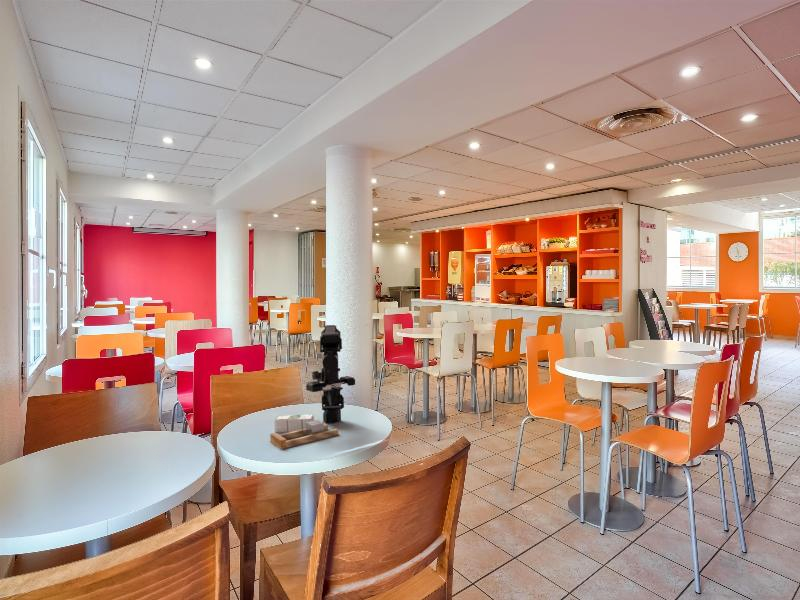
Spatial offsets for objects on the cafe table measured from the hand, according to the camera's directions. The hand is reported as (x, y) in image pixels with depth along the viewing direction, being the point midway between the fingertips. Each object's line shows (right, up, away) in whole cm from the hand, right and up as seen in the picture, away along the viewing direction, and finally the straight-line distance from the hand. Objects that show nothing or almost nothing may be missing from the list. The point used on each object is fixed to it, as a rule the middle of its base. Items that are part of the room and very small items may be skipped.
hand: (331, 405), depth 175 cm
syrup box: (-23, -8, +4) cm, 24 cm away
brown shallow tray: (-9, -11, -7) cm, 16 cm away
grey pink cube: (-6, -10, -4) cm, 13 cm away
